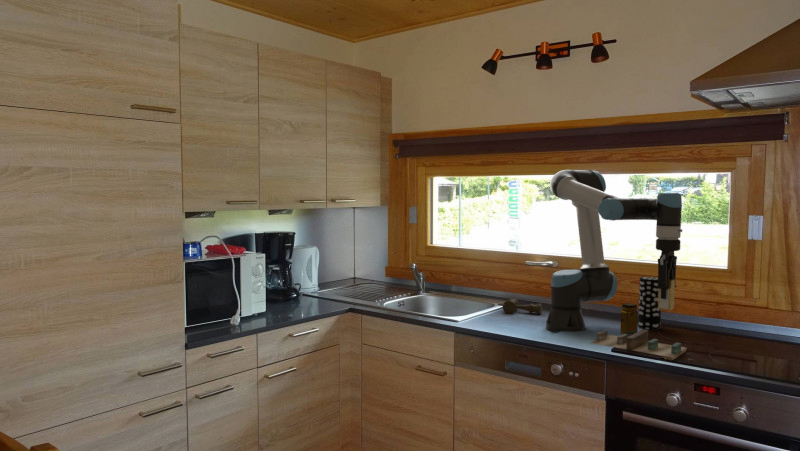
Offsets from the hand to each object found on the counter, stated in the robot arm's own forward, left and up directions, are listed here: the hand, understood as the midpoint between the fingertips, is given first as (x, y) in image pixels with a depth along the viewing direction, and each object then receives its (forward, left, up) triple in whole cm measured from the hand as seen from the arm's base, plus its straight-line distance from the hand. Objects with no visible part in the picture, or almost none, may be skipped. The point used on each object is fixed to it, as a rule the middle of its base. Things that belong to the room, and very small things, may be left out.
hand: (666, 306), depth 197 cm
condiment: (-17, +17, -16) cm, 29 cm away
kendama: (-70, +25, -16) cm, 76 cm away
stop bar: (0, 0, -1) cm, 1 cm away
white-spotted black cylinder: (-16, +35, -16) cm, 42 cm away
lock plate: (-9, 0, -16) cm, 18 cm away
